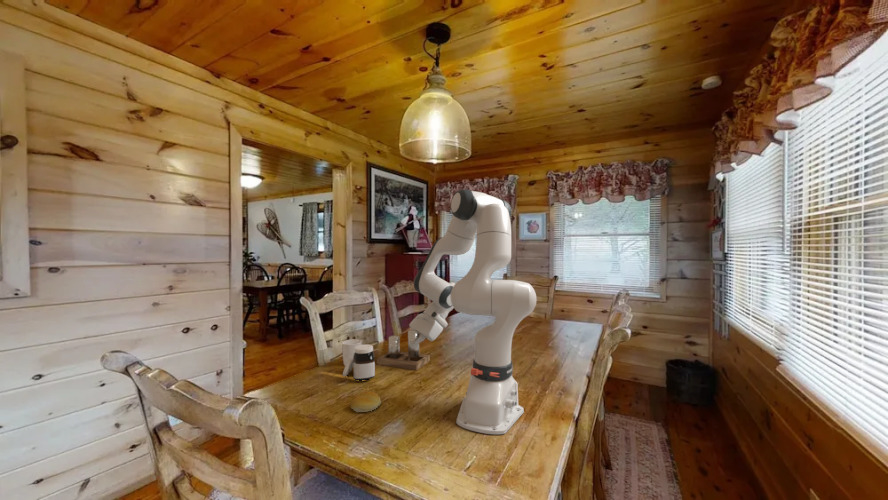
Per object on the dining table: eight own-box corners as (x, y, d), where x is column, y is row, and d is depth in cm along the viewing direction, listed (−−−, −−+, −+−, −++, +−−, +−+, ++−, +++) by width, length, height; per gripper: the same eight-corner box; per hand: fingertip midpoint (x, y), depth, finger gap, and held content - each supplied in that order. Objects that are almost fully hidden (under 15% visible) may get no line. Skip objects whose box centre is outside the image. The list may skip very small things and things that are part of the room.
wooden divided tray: (416, 373, 130) (416, 364, 130) (376, 367, 137) (376, 358, 137) (429, 363, 141) (429, 355, 141) (392, 357, 148) (392, 350, 148)
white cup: (342, 364, 141) (341, 340, 141) (361, 362, 143) (361, 338, 143) (342, 370, 133) (342, 345, 133) (362, 368, 136) (362, 343, 136)
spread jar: (376, 381, 123) (376, 349, 123) (344, 386, 119) (344, 353, 118) (371, 370, 134) (371, 341, 134) (341, 374, 130) (341, 344, 130)
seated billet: (396, 363, 138) (396, 339, 138) (386, 361, 140) (386, 337, 140) (401, 359, 142) (401, 336, 142) (392, 358, 144) (392, 335, 144)
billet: (416, 357, 135) (415, 333, 135) (406, 356, 137) (406, 331, 136) (421, 354, 139) (421, 330, 139) (411, 353, 141) (411, 329, 141)
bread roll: (345, 411, 101) (345, 398, 101) (363, 399, 109) (363, 386, 109) (368, 416, 98) (368, 403, 98) (385, 403, 106) (385, 390, 106)
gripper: (419, 307, 150) (398, 331, 146) (439, 315, 132) (416, 344, 127) (428, 315, 152) (408, 340, 148) (449, 325, 134) (427, 354, 130)
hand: (412, 342), depth 137 cm, fingers closed on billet, 4 cm apart
